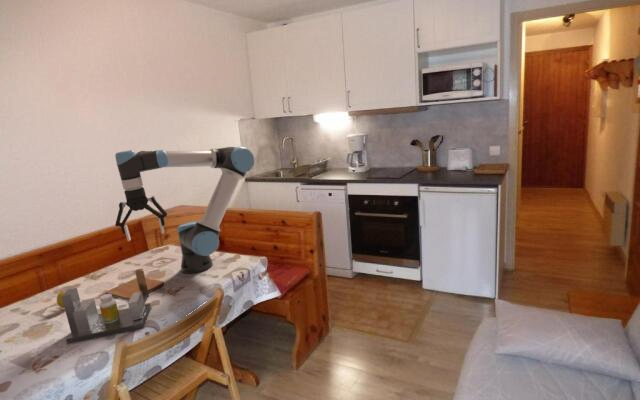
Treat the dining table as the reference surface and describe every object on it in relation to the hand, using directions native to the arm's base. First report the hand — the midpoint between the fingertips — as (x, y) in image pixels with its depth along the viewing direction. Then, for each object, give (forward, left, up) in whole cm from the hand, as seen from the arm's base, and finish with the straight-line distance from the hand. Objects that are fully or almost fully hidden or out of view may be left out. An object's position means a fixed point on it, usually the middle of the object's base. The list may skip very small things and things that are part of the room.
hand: (146, 236), depth 167 cm
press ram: (+3, +19, -23) cm, 30 cm away
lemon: (+37, -1, -26) cm, 45 cm away
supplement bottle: (+12, +24, -24) cm, 36 cm away
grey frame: (+13, +24, -25) cm, 37 cm away
